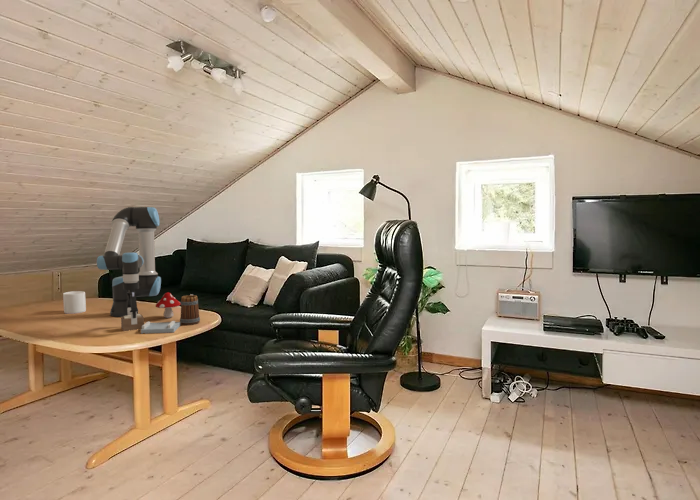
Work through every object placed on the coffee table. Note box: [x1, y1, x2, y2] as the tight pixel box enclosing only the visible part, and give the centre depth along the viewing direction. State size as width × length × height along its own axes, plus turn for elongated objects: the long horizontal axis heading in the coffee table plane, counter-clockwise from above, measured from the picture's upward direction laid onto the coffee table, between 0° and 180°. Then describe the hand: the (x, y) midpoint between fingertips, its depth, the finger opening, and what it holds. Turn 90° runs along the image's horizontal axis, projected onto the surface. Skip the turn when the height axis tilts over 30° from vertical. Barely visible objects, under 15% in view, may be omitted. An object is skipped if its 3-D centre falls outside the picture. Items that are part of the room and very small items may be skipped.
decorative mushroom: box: [155, 291, 181, 319], centre depth 267 cm, size 14×14×15 cm
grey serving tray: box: [140, 320, 181, 335], centre depth 241 cm, size 15×16×4 cm
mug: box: [179, 293, 201, 326], centre depth 257 cm, size 16×11×15 cm
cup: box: [62, 290, 87, 315], centre depth 284 cm, size 12×12×12 cm
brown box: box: [120, 313, 145, 332], centre depth 242 cm, size 7×10×7 cm
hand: (132, 321), depth 242 cm, fingers open, 13 cm apart
